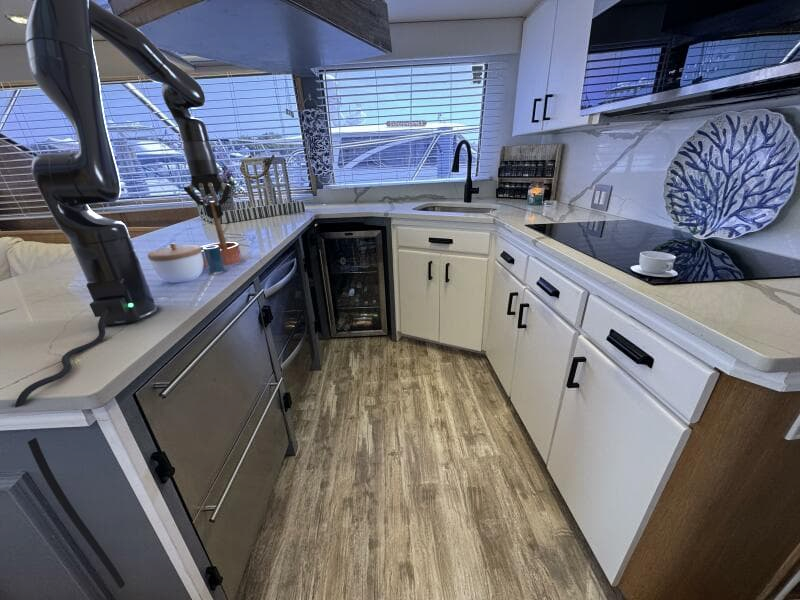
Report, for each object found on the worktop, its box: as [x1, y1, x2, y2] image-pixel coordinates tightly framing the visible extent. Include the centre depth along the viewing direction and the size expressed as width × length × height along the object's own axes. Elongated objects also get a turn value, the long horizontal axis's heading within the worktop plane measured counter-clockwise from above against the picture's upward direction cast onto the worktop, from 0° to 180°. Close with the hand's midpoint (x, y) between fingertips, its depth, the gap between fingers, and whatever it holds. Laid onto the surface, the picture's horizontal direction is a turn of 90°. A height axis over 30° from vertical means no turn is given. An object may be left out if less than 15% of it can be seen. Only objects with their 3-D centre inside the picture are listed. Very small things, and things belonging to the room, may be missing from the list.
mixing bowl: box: [200, 241, 243, 268], centre depth 107 cm, size 12×12×6 cm
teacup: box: [630, 251, 679, 278], centre depth 83 cm, size 10×10×5 cm
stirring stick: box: [209, 200, 227, 249], centre depth 104 cm, size 2×2×18 cm
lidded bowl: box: [147, 242, 205, 284], centre depth 91 cm, size 13×13×11 cm
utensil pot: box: [203, 245, 226, 273], centre depth 98 cm, size 4×4×8 cm
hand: (216, 217), depth 103 cm, fingers closed on stirring stick, 2 cm apart
